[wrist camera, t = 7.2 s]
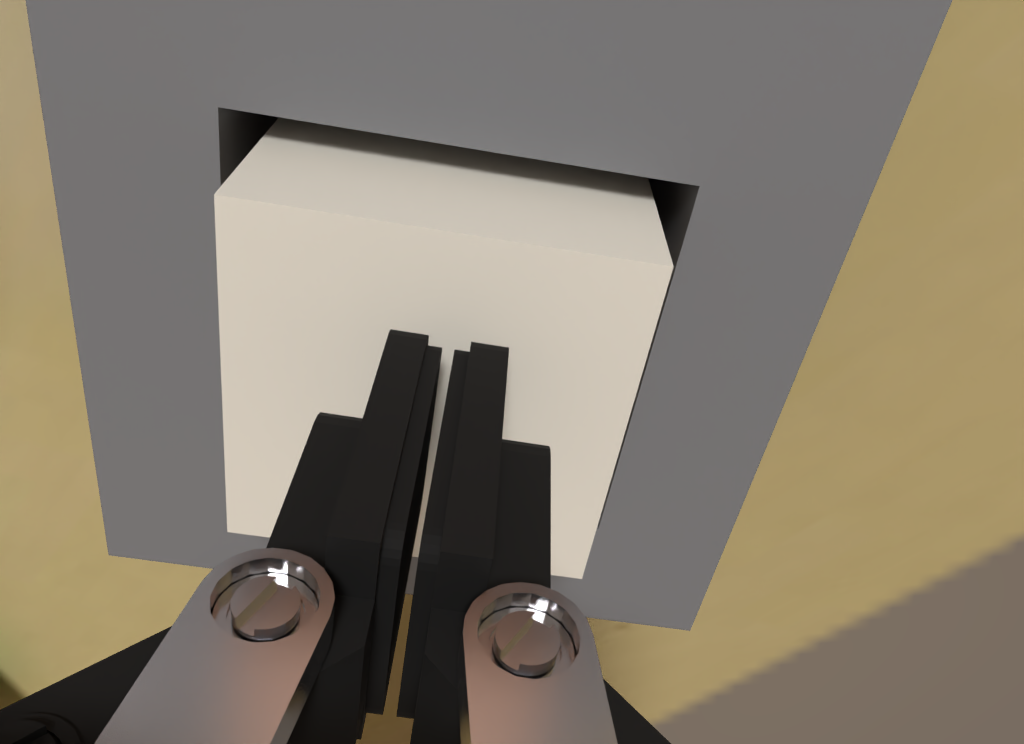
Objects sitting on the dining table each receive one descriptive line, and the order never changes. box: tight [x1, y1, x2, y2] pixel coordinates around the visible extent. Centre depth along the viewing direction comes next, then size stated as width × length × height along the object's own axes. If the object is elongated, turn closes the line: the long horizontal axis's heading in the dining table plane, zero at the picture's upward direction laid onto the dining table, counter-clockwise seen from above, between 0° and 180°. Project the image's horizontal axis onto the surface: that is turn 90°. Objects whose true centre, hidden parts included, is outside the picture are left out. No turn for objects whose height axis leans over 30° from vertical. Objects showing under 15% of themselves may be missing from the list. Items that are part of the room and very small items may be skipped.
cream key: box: [214, 117, 674, 579], centre depth 15 cm, size 6×6×6 cm
